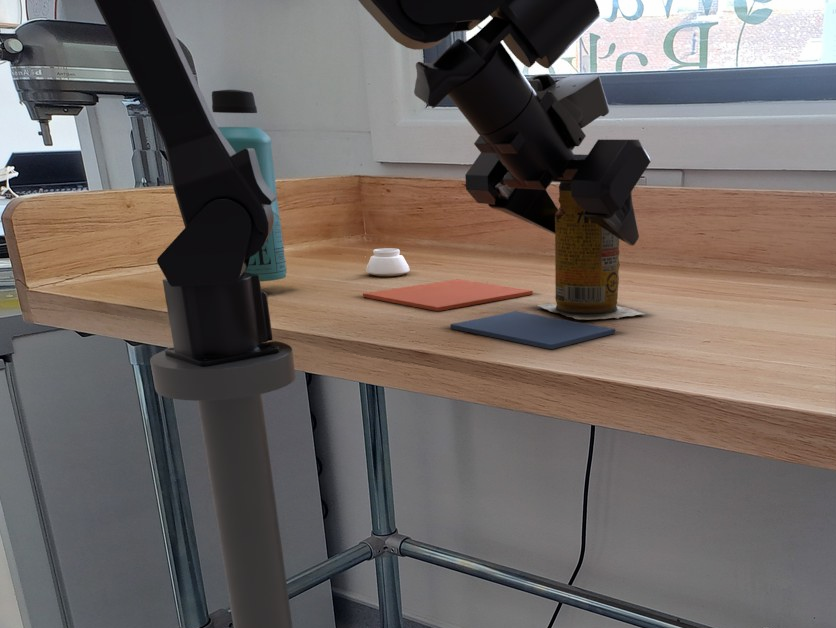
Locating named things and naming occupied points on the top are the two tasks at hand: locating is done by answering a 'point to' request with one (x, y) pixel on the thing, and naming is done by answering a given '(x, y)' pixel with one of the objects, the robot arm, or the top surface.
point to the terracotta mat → (447, 294)
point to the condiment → (584, 265)
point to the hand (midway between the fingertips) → (599, 237)
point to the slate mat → (533, 329)
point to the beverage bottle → (272, 253)
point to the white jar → (387, 263)
